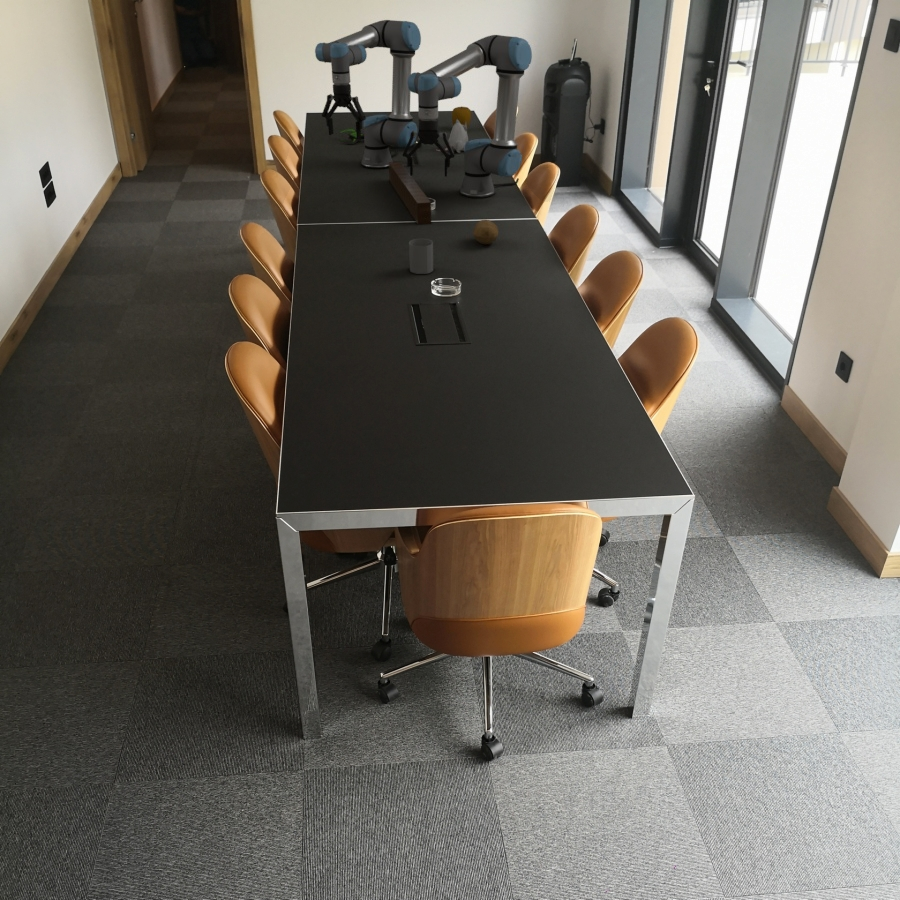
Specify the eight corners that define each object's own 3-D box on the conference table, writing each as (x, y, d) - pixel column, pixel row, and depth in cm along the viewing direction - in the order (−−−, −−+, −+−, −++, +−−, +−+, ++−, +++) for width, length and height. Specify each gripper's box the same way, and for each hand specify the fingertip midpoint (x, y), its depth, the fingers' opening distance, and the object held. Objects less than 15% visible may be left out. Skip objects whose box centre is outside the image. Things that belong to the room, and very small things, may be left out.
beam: (389, 181, 404) (388, 162, 400) (400, 180, 405) (400, 161, 401) (417, 224, 351) (417, 203, 347) (431, 223, 352) (430, 202, 348)
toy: (473, 150, 452) (473, 120, 444) (442, 158, 438) (441, 127, 430) (460, 147, 458) (460, 117, 449) (429, 155, 443) (428, 125, 435)
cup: (409, 265, 311) (408, 238, 306) (432, 265, 312) (431, 238, 307) (410, 274, 304) (409, 246, 299) (433, 273, 305) (433, 246, 299)
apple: (471, 132, 486) (471, 108, 479) (451, 132, 486) (451, 108, 479) (470, 128, 495) (471, 104, 488) (452, 128, 495) (452, 104, 488)
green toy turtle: (394, 125, 469) (339, 123, 467) (394, 140, 462) (338, 138, 460) (394, 135, 474) (339, 133, 472) (394, 150, 467) (338, 148, 464)
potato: (495, 236, 338) (496, 216, 334) (500, 248, 327) (500, 227, 322) (471, 236, 338) (471, 216, 334) (474, 249, 326) (474, 228, 322)
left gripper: (311, 83, 367) (315, 135, 378) (363, 87, 359) (366, 140, 370) (320, 80, 373) (324, 131, 384) (371, 84, 365) (374, 136, 376)
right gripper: (394, 120, 328) (396, 177, 340) (460, 121, 327) (459, 178, 338) (397, 116, 335) (398, 171, 346) (461, 117, 333) (460, 173, 345)
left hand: (344, 135), depth 377 cm, fingers open, 13 cm apart
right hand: (428, 175), depth 342 cm, fingers open, 13 cm apart
